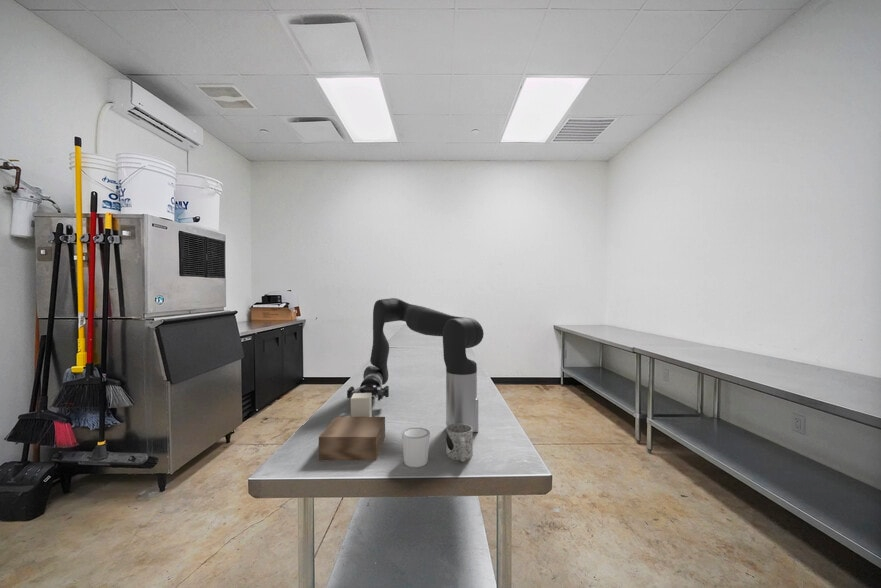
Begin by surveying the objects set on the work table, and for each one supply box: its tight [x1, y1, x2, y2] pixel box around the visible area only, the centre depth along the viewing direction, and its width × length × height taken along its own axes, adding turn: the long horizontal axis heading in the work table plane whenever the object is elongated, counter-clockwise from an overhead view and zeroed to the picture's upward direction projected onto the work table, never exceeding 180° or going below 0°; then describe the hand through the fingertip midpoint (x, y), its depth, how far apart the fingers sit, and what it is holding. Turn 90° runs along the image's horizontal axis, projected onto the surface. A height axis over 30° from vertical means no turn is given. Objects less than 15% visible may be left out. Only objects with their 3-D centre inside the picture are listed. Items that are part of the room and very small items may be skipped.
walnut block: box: [318, 416, 386, 461], centre depth 91 cm, size 14×14×6 cm
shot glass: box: [401, 427, 431, 468], centre depth 83 cm, size 7×7×7 cm
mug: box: [445, 423, 474, 463], centre depth 85 cm, size 10×7×7 cm, turn 4°
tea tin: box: [350, 393, 373, 417], centre depth 104 cm, size 5×5×10 cm
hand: (366, 398), depth 114 cm, fingers open, 8 cm apart
